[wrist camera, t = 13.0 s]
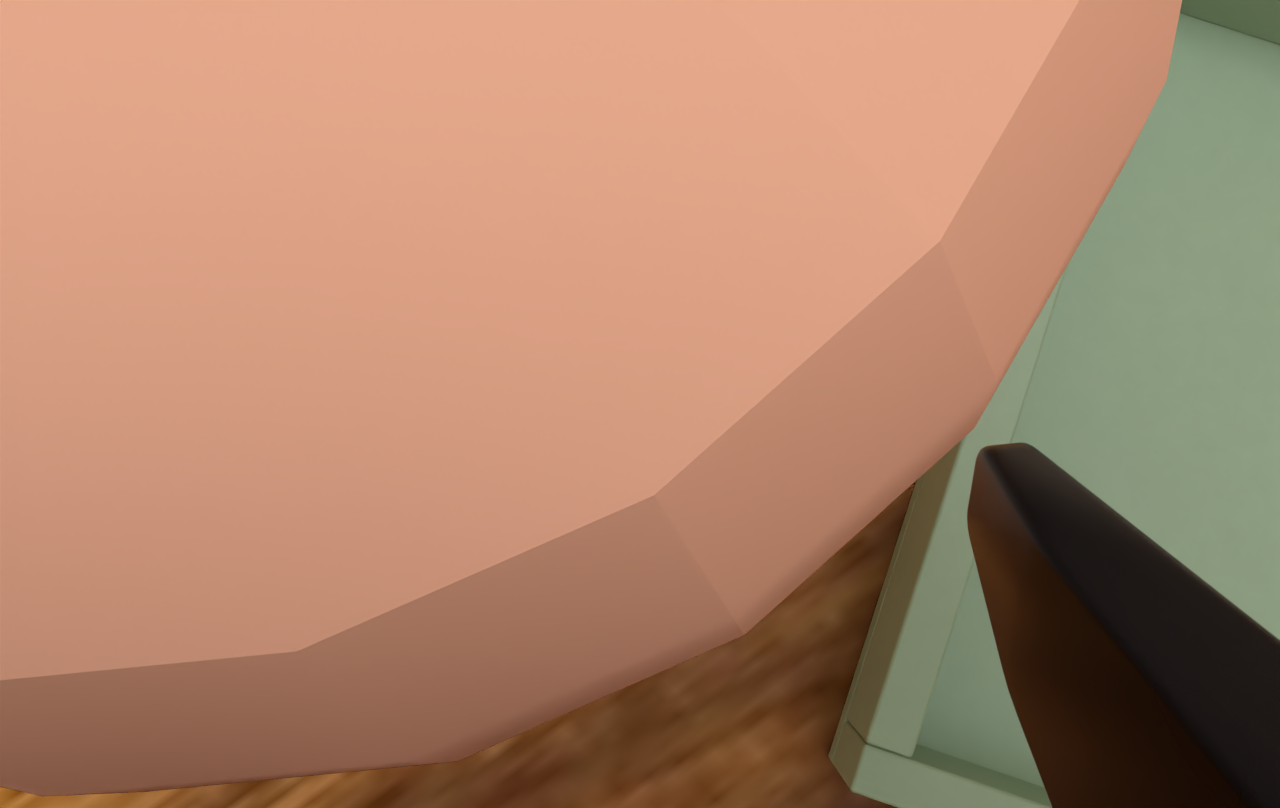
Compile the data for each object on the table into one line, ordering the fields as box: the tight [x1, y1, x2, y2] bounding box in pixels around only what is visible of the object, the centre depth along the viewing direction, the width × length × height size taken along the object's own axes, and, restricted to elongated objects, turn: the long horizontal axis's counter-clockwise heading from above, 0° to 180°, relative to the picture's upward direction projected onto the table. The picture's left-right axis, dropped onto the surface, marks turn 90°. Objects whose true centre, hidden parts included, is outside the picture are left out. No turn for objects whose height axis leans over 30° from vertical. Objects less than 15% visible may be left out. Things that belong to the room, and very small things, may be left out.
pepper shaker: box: [0, 0, 1182, 796], centre depth 11 cm, size 7×7×19 cm
